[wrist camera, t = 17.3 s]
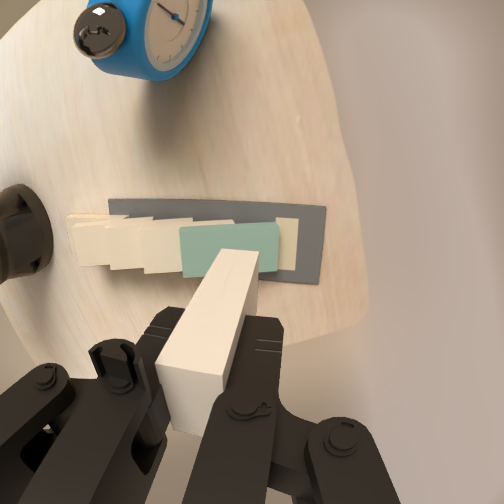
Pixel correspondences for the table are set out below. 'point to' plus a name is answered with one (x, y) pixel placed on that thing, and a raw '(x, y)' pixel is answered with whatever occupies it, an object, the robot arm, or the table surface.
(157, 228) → the domino
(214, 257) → the domino
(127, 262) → the domino
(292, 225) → the mat
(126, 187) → the table surface
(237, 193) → the table surface
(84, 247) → the domino
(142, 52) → the alarm clock
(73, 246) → the domino
